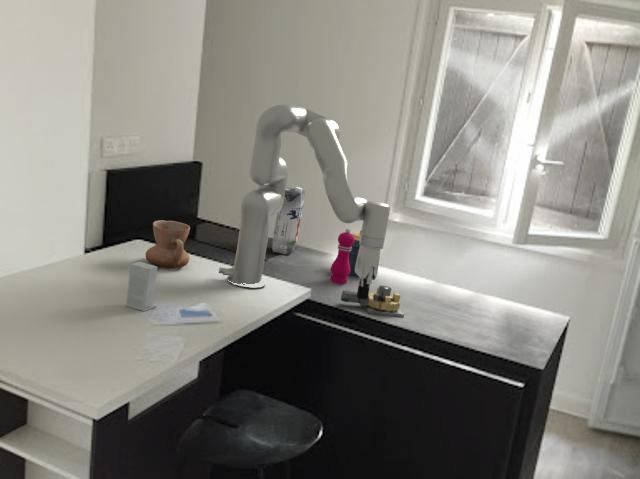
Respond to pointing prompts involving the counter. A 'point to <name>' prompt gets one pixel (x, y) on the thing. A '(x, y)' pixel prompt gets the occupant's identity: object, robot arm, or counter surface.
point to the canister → (354, 254)
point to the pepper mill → (342, 258)
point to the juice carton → (288, 221)
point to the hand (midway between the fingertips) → (362, 298)
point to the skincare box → (141, 286)
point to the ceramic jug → (169, 245)
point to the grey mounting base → (383, 292)
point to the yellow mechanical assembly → (374, 300)
